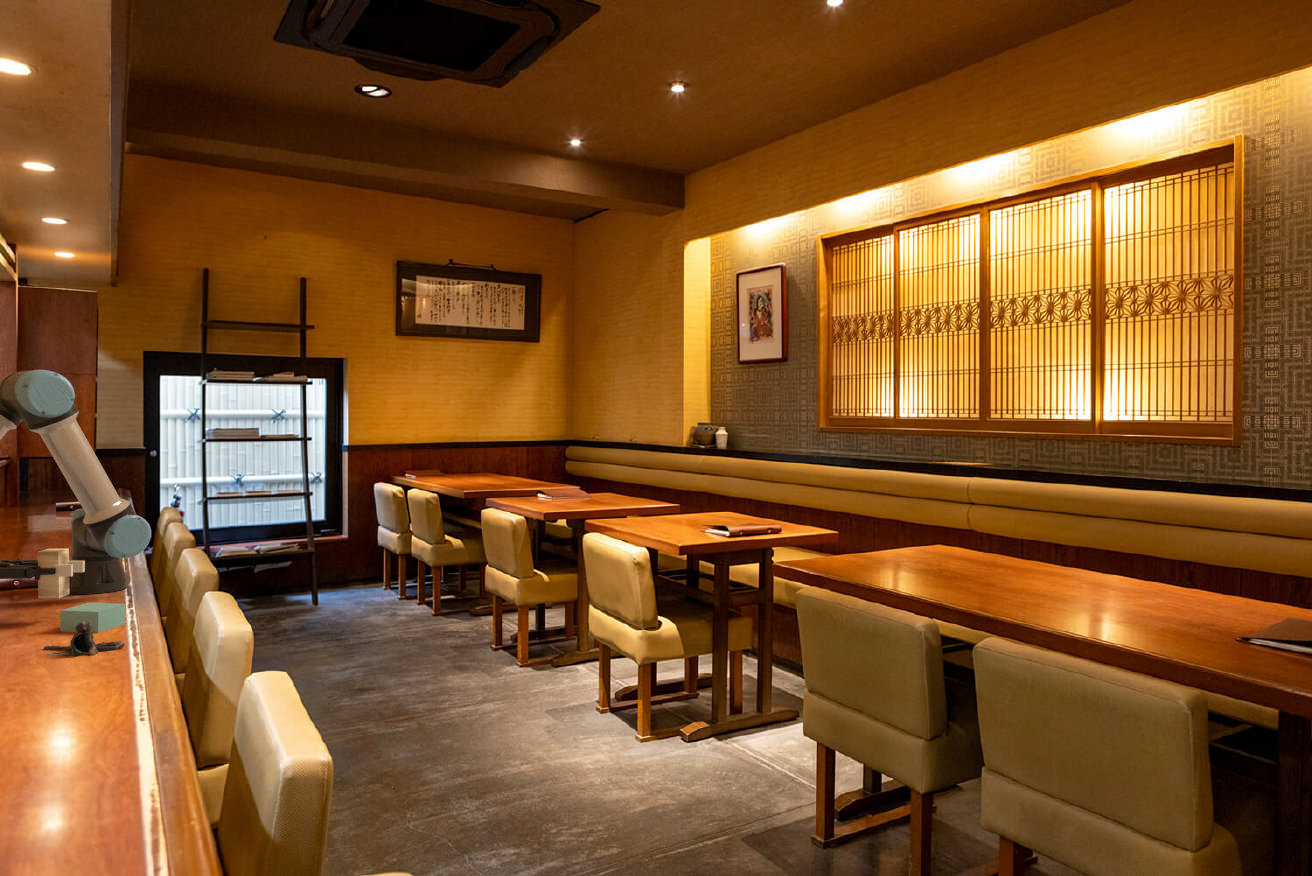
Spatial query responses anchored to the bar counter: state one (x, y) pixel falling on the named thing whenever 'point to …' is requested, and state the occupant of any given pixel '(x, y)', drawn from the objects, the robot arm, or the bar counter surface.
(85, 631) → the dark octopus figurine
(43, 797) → the bar counter surface
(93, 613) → the green square block
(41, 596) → the block
